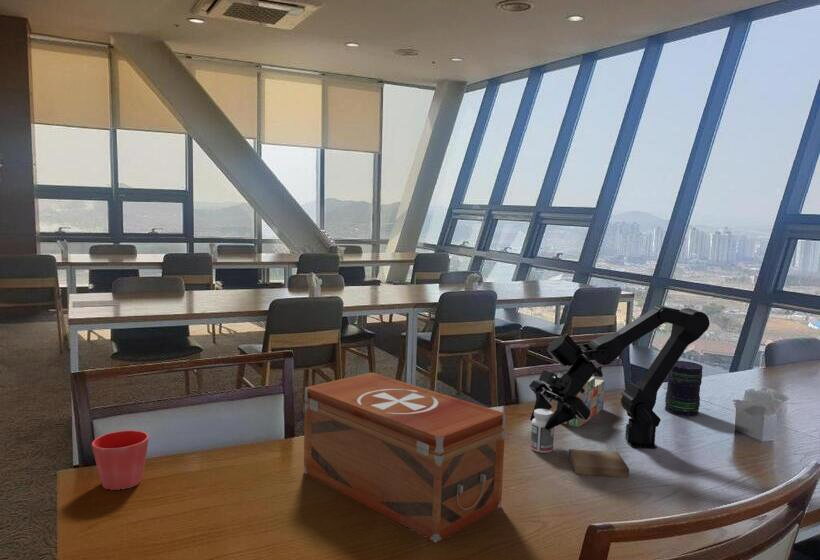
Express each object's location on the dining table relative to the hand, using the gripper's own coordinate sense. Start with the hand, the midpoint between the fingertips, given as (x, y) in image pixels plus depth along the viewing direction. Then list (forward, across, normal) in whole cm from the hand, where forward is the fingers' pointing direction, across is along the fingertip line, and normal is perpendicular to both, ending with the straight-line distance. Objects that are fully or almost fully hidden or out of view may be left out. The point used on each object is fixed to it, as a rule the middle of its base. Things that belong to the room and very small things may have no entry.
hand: (538, 424), depth 156 cm
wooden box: (+35, +7, -25) cm, 43 cm away
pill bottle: (+4, 0, +6) cm, 7 cm away
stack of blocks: (-16, -17, +26) cm, 34 cm away
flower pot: (+72, -18, -63) cm, 97 cm away
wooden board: (0, +14, +10) cm, 17 cm away
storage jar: (-39, -9, +49) cm, 63 cm away
